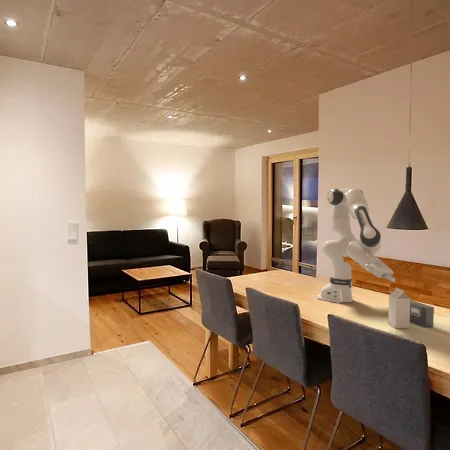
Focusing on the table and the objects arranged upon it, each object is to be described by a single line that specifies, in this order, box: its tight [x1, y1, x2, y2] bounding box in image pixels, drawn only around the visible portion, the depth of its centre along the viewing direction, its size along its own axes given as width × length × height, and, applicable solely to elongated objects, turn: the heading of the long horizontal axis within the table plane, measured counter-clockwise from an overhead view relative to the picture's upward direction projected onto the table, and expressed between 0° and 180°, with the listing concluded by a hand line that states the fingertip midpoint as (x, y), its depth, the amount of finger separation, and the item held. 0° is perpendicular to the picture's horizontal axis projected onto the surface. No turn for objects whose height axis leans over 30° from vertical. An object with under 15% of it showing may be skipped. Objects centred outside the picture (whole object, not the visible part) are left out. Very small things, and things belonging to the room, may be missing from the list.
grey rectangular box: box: [409, 299, 435, 329], centre depth 181 cm, size 22×6×10 cm, turn 18°
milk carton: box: [387, 287, 411, 329], centre depth 172 cm, size 7×7×19 cm
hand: (394, 280), depth 175 cm, fingers closed
